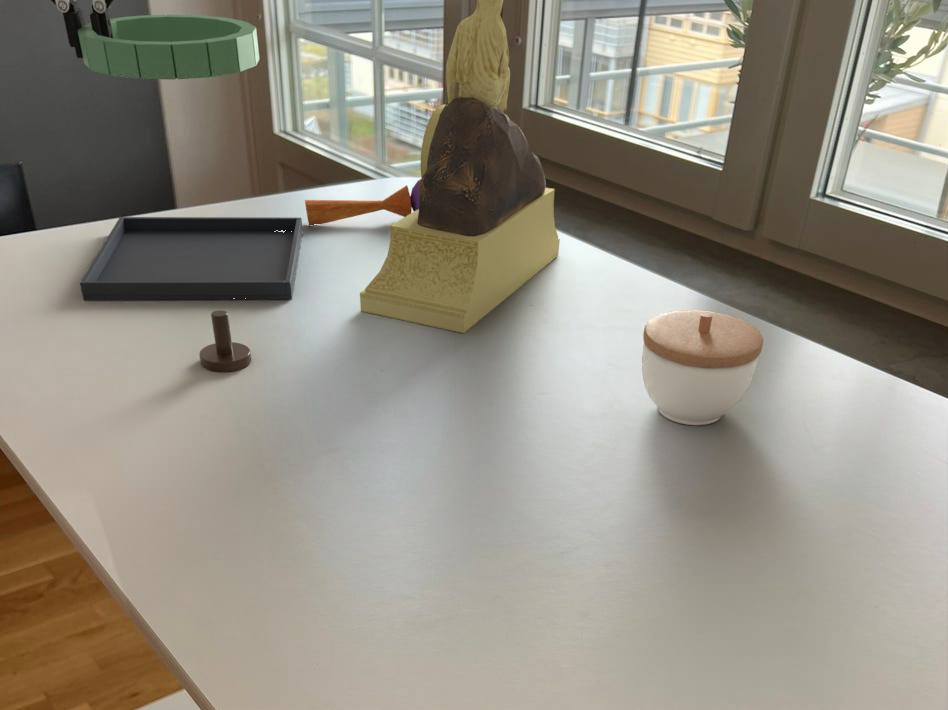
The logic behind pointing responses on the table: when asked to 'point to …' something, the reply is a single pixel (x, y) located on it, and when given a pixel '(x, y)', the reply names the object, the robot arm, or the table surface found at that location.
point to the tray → (196, 259)
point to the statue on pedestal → (469, 197)
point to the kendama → (361, 206)
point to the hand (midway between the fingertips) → (94, 54)
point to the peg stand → (224, 348)
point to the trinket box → (698, 364)
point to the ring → (171, 47)
